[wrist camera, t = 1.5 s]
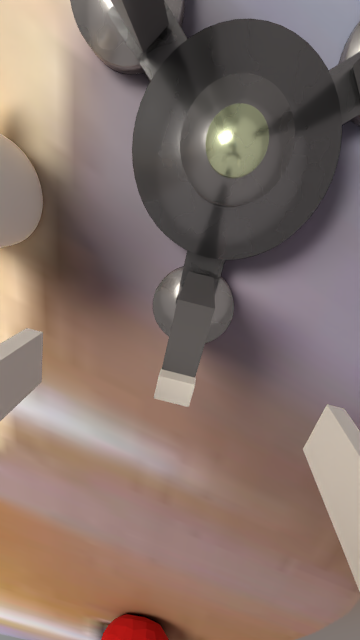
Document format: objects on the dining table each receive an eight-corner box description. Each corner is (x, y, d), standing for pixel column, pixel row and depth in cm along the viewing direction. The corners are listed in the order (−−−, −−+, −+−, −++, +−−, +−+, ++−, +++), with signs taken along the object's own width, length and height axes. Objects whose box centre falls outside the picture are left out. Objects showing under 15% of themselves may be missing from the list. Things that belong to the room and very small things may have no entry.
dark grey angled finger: (188, 271, 21) (175, 303, 13) (214, 277, 21) (216, 313, 13) (172, 338, 23) (153, 398, 15) (196, 344, 23) (188, 407, 15)
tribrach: (82, -87, 15) (9, -259, 10) (488, 2, 15) (653, -126, 9) (62, 307, 25) (19, 333, 19) (309, 368, 24) (338, 414, 19)
